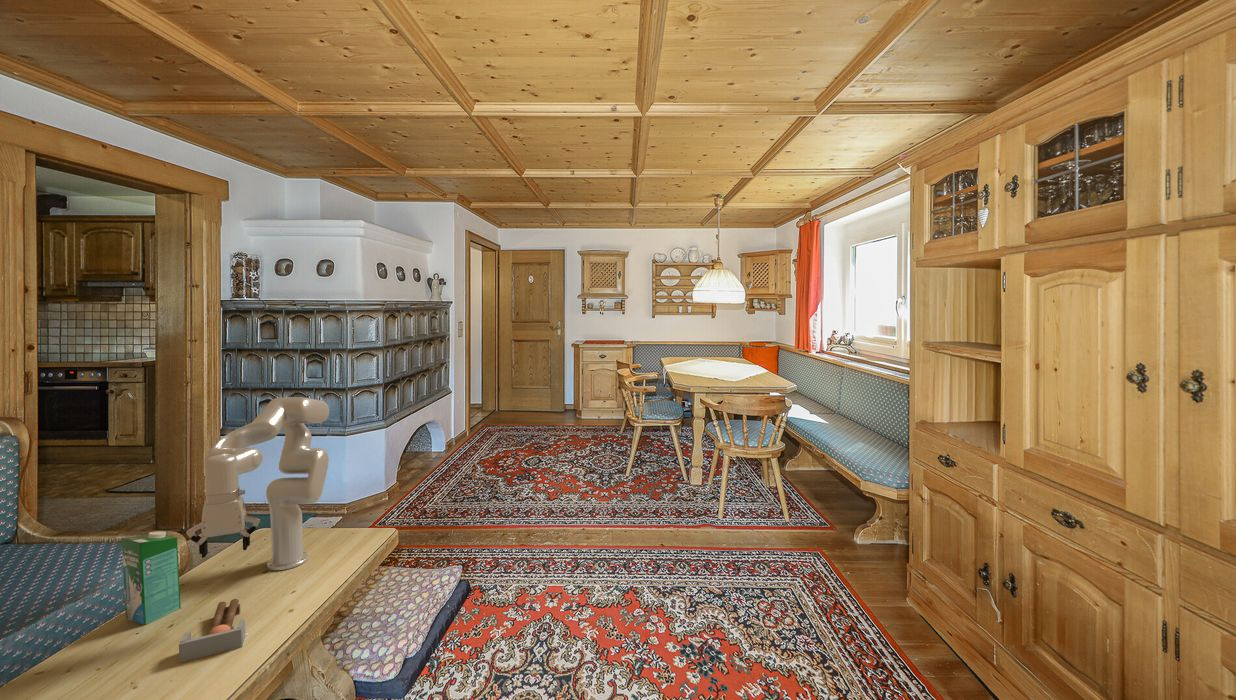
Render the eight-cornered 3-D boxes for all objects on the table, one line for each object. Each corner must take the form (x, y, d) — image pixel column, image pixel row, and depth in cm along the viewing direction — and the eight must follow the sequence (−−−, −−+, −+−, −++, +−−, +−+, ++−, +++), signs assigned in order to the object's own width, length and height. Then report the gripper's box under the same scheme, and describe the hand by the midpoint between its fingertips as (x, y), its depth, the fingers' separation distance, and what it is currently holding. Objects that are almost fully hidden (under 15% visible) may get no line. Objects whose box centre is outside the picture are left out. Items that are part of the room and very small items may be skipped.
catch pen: (185, 650, 129) (184, 632, 129) (245, 635, 136) (244, 618, 135) (179, 662, 125) (178, 644, 125) (241, 646, 131) (241, 629, 131)
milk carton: (181, 608, 148) (177, 529, 146) (144, 625, 140) (139, 542, 138) (162, 602, 151) (158, 525, 149) (125, 618, 143) (120, 537, 141)
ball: (200, 643, 130) (212, 623, 134) (219, 649, 133) (230, 629, 136) (207, 640, 128) (220, 620, 132) (227, 646, 131) (238, 626, 134)
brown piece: (217, 616, 144) (216, 602, 144) (240, 610, 147) (240, 597, 147) (206, 639, 134) (205, 624, 134) (231, 633, 137) (231, 618, 136)
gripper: (261, 487, 149) (263, 540, 151) (188, 497, 141) (191, 552, 142) (256, 495, 143) (258, 551, 144) (180, 506, 135) (183, 564, 136)
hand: (225, 551), depth 143 cm, fingers open, 9 cm apart
